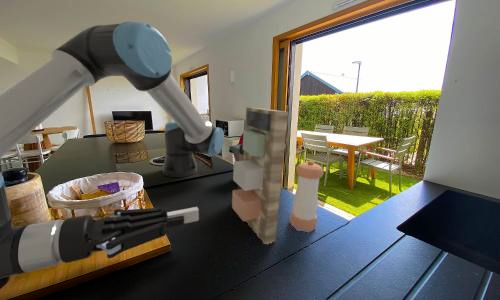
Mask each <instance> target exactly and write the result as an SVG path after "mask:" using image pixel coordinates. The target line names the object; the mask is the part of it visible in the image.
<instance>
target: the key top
mask: <svg viewBox="0 0 500 300" xmlns="http://www.w3.org/2000/svg"><path fill="white" fill-rule="evenodd" d="M242 134H243V136H242V138H243V139H242V144H243V150H244V151H246V152H248V153H250V154H252V155H253V156H255V157H260V156H265V145H266V134H265V133H262V132H259V131H256V130H245V129H244V130H243V133H242Z"/></svg>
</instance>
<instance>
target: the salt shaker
mask: <svg viewBox="0 0 500 300" xmlns="http://www.w3.org/2000/svg"><path fill="white" fill-rule="evenodd" d="M295 171H296V173H297V175H298V176H297V177H298V179H297V186H296V190H295V193H294V197H293V203H292V209H291V211H290V215H289V216H290V218H289V219H290V220H289V224H290V223H291V225H292V226H294V227H295V228H297V229H299V230H304V231H311V230H313V229H315V230H316V228H317V221H318V216H317V213H318V211H317V210H318V206H319V202H318V201H319V197H318V192H319V183H320V179H321V178H322V177H323V175H324V169H323V168H322V166H321V165H320V164H318V163H315V162H314V161H313V160H307V161H306V162H300V163H299V164H298V165H297V166H296V170H295ZM291 225H290V226H291ZM292 226H291V227H292ZM315 227H316V228H315Z"/></svg>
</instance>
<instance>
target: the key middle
mask: <svg viewBox="0 0 500 300" xmlns="http://www.w3.org/2000/svg"><path fill="white" fill-rule="evenodd" d="M232 170H233V177H232V181H233V180H234V181H235V182H236V183H235V182H234V181H233V182H234V183H235V184H237V186H238V185H239V186H240V187H241V188H242V189H243V190H244V191H247V190H253V189H259V188H262V185H263V172H264V167H262V166H260V165H259V164H257V163H255V162H254V161H252V160H245V161H235V160H234V161H233V169H232Z"/></svg>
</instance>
